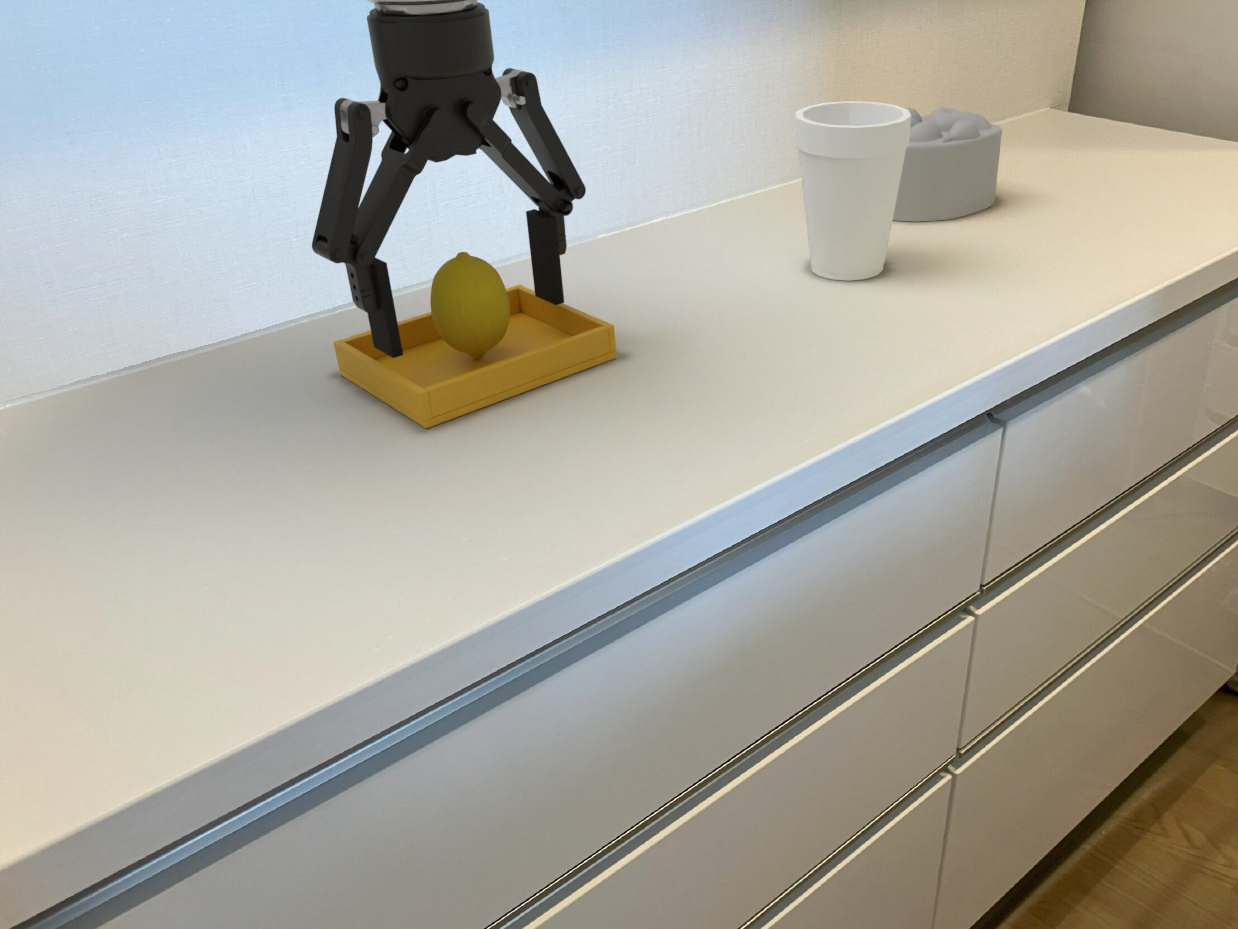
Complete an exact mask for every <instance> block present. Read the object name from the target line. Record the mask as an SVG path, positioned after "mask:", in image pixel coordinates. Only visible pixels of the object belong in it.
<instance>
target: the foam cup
mask: <svg viewBox="0 0 1238 929" xmlns="http://www.w3.org/2000/svg"><path fill="white" fill-rule="evenodd" d="M905 108H906V107H901V106H899V105H896V104H891V103H883V102H877V101H861V100H860V101H858V100H855V101H854V100H847V101H845V100H843V101H831V102H822V103H817V104H811V105H807V106H804V107H802V108H800V109H798V110H797V111H795V122H794V124H795V125H794V126H795V128H794V129H795V130H794V131H795V132H794V134H795V135H794V143H795V148H796V149H798V156H799V157H798V159H799V167H800V177H801V178H800V179H801V187H802V194H803V195H802V196H803V204H804V214H805V225H806V232H807V243H808V251H809V260H810V267H811V268H810V269H811V272H812V273H813V274H815V275H817V276H818V277H821V278H825V279H829V280H834V281H846V282H847V281H849V282H850V281H861V280H867V279H870V278H873V277H876V276H878V275H879V274H881V273H882V272H883V271H884V264H885V263H886V258H887V253H888V247H889V242H890V237H891V231H892V225H893V221H894V220H893V216H894V210H895V205H896V200H897V195H898V189H899V184H900V179H901V174H902V168H903V163H904V158H905V153H906V147H908V146H909V142H910V127H911V114H910V112H909V110H907V109H905Z"/></svg>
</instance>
